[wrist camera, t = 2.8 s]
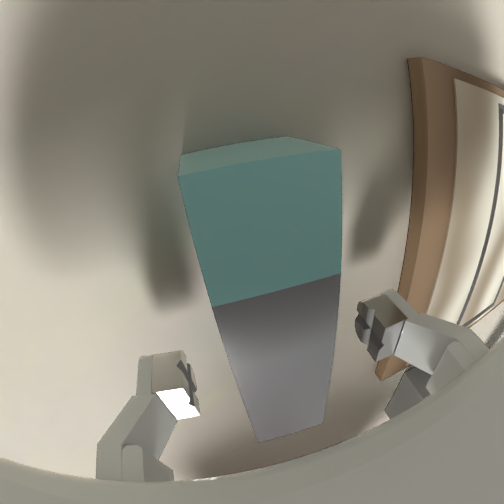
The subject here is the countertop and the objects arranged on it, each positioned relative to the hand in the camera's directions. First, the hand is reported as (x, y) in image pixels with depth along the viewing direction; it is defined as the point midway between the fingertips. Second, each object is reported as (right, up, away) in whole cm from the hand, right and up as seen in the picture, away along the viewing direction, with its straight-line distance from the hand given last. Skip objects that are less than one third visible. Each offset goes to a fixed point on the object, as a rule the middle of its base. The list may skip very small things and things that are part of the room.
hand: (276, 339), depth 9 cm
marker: (-1, +1, +2) cm, 2 cm away
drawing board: (+16, +5, +4) cm, 17 cm away
